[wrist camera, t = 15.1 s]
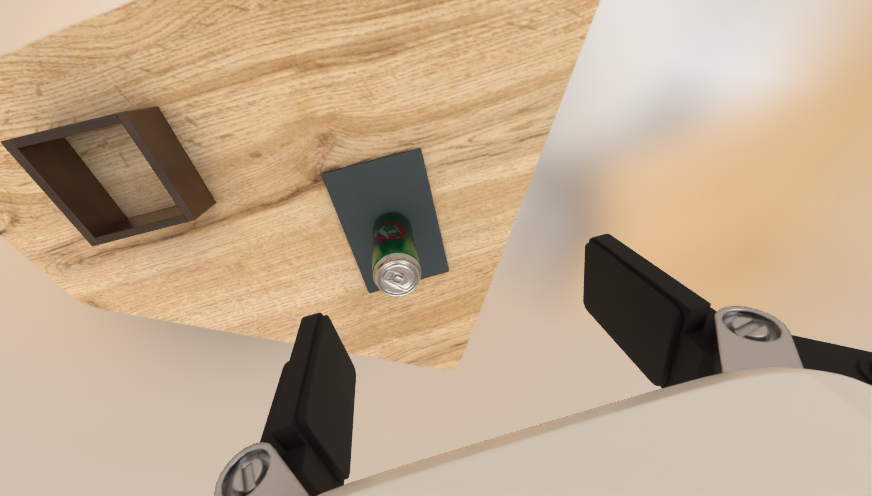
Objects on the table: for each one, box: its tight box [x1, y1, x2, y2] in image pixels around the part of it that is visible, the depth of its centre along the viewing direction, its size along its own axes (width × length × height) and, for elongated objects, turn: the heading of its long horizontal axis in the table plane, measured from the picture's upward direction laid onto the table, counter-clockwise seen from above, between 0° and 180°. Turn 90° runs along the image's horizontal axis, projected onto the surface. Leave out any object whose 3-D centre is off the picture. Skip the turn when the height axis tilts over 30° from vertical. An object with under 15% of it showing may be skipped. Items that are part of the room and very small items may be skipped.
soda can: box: [372, 212, 422, 297], centre depth 37 cm, size 5×5×12 cm
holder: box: [1, 107, 216, 246], centre depth 32 cm, size 11×11×5 cm
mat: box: [322, 148, 449, 293], centre depth 42 cm, size 18×12×1 cm, turn 12°
